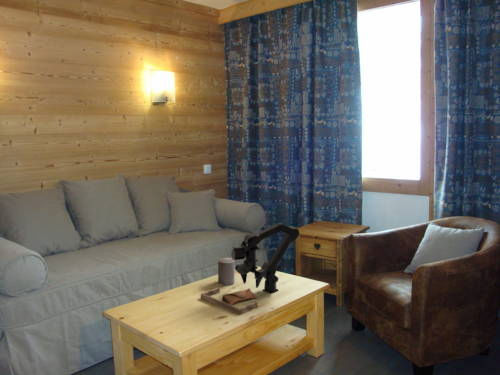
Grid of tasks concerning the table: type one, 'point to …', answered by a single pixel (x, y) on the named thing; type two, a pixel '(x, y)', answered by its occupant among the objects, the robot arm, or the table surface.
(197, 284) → the table surface
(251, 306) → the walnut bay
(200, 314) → the table surface
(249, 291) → the sunglasses case
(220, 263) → the pillar candle
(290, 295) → the table surface
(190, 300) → the table surface
